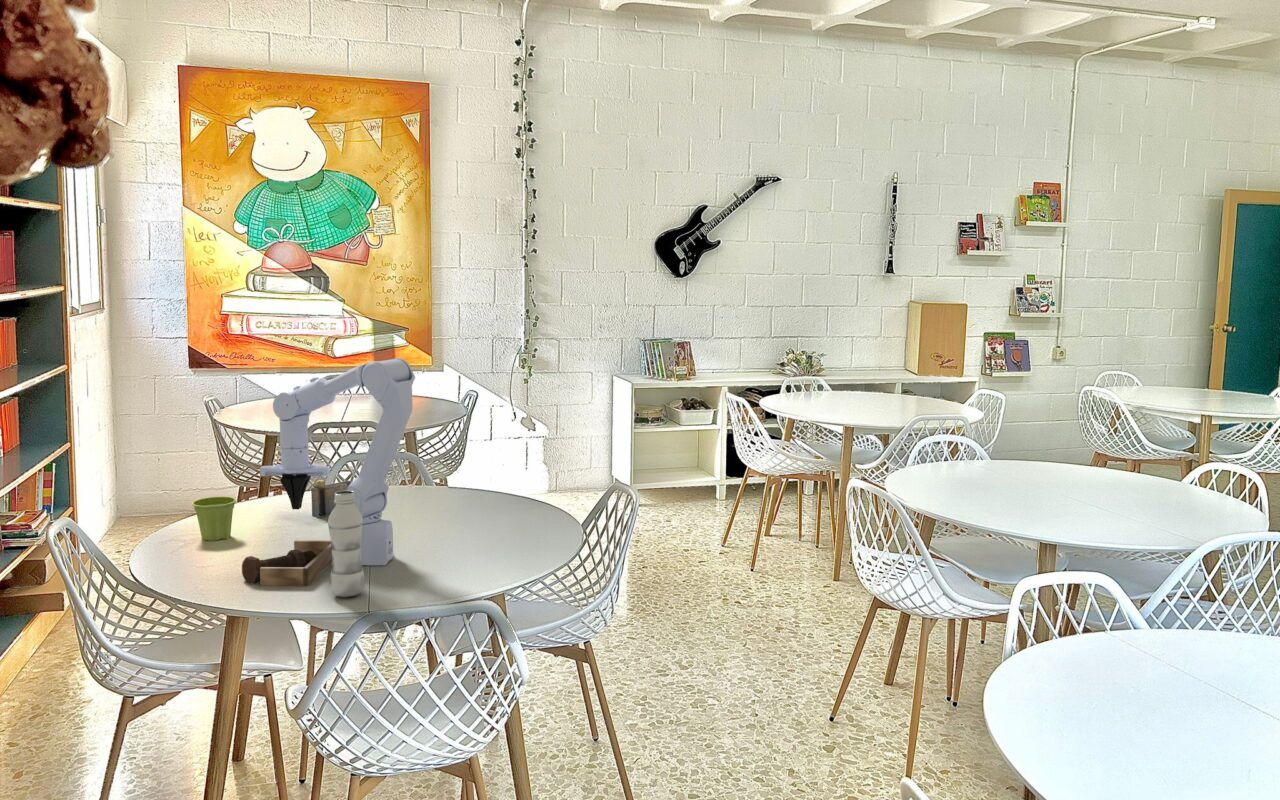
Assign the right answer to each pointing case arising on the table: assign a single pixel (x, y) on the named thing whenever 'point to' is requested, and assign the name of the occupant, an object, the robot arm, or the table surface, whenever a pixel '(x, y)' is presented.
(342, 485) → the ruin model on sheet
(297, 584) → the frame
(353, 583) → the plastic bottle
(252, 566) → the bolt
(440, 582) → the table surface
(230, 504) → the plant pot
